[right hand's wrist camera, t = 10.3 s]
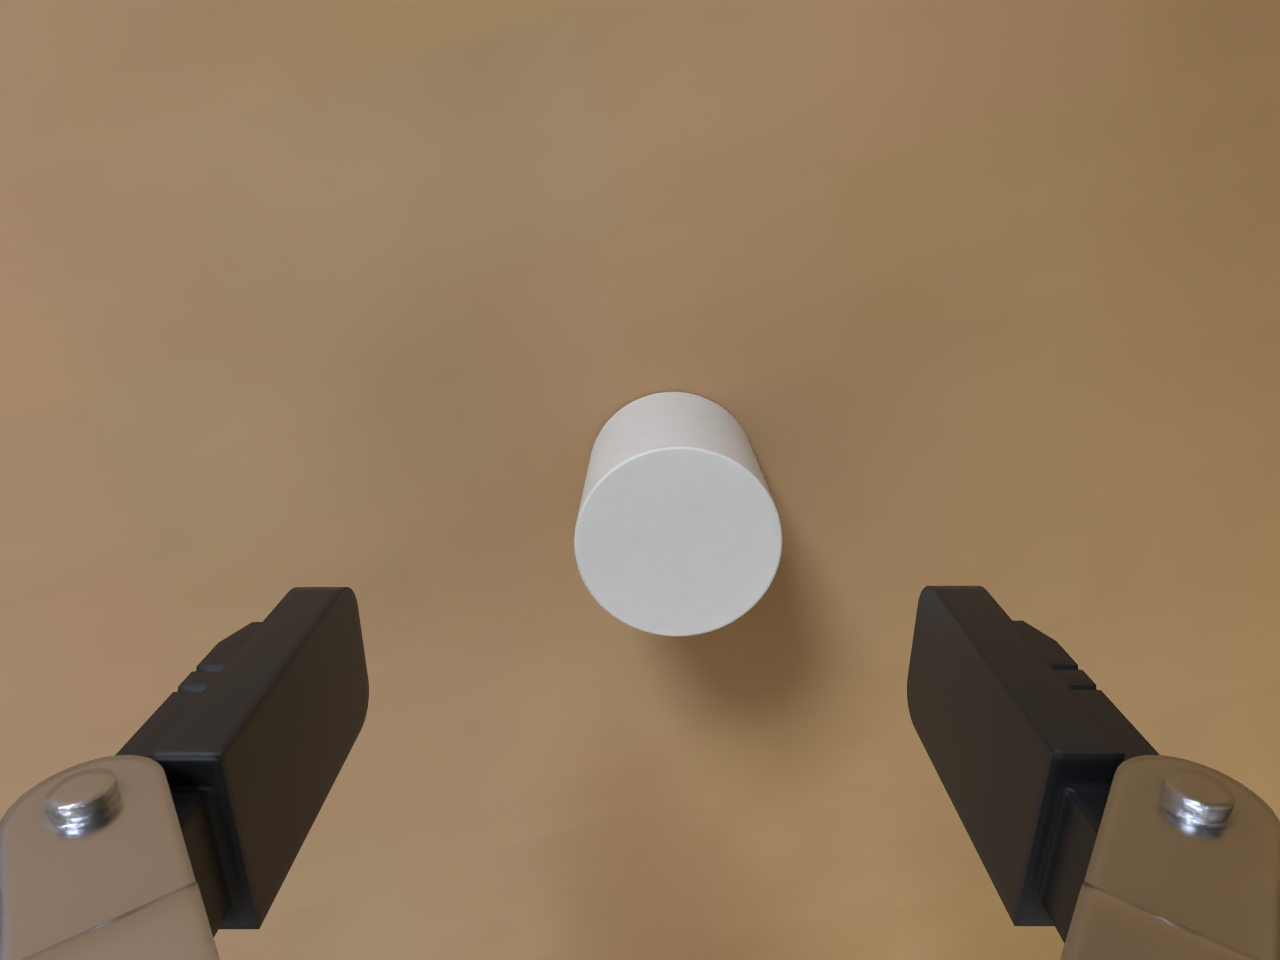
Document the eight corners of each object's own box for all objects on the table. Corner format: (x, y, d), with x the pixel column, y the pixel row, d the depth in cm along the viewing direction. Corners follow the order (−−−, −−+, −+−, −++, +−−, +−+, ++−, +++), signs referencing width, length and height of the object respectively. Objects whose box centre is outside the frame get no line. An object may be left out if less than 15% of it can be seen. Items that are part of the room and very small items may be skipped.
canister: (597, 551, 20) (584, 643, 16) (582, 396, 18) (563, 453, 14) (755, 541, 19) (783, 632, 15) (752, 385, 18) (782, 440, 14)
